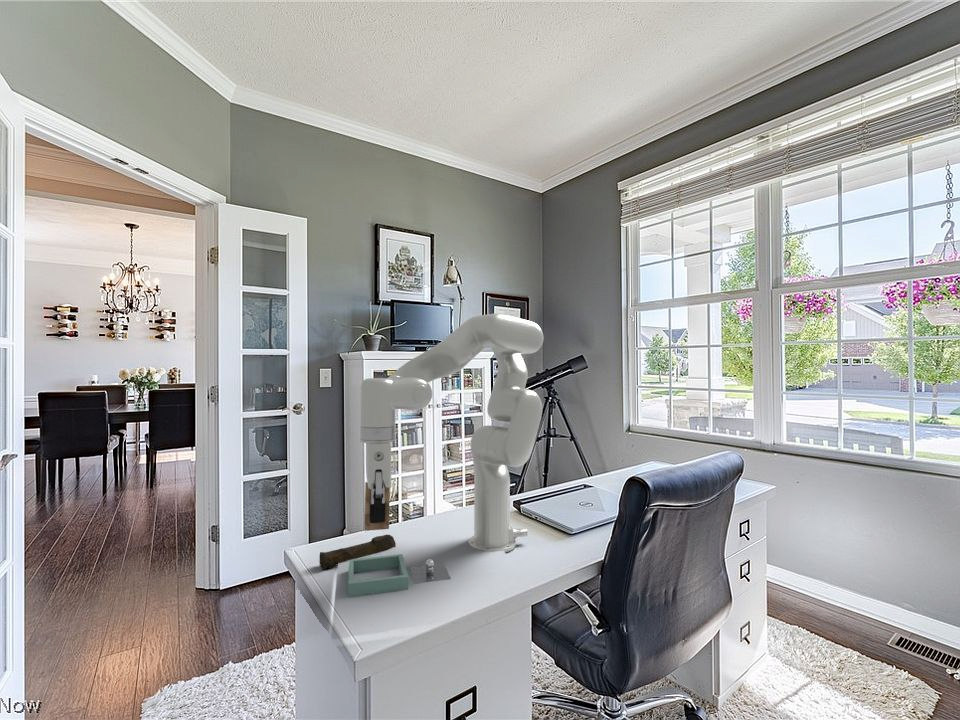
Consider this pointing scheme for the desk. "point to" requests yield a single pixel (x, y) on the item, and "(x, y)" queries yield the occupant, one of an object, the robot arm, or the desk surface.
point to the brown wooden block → (367, 510)
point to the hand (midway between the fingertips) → (376, 517)
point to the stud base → (429, 578)
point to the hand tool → (356, 551)
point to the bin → (378, 583)
